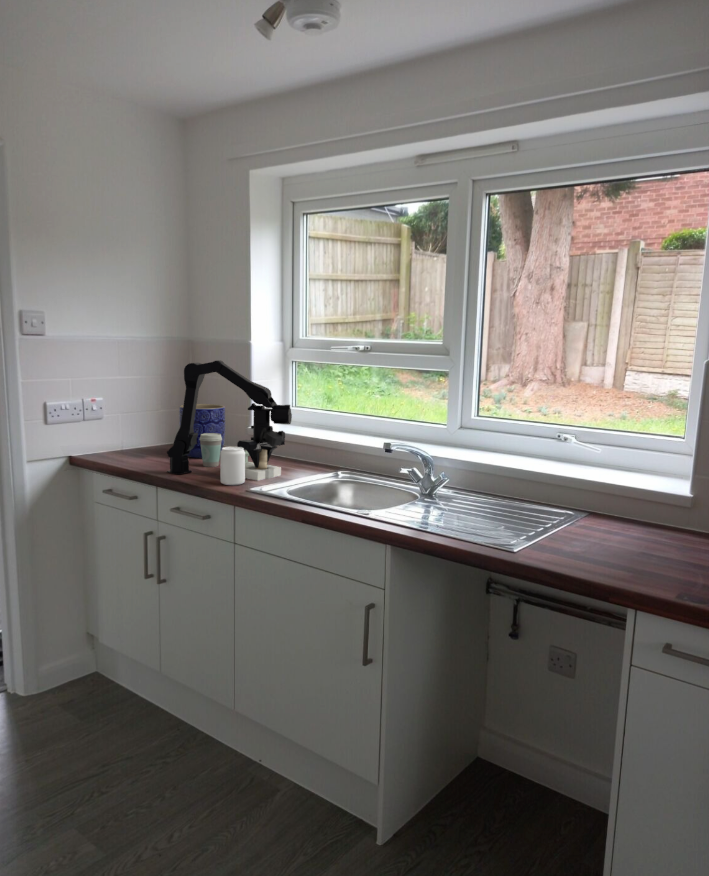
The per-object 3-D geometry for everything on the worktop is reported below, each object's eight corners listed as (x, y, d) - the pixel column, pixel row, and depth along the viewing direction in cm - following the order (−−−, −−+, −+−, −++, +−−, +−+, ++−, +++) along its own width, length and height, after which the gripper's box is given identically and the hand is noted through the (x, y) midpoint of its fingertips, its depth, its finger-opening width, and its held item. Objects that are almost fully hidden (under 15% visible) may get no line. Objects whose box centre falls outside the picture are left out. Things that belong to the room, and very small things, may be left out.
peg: (253, 472, 242) (253, 450, 241) (261, 470, 245) (261, 448, 244) (261, 474, 240) (261, 451, 238) (269, 472, 243) (269, 450, 242)
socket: (225, 474, 245) (225, 466, 244) (248, 469, 254) (248, 461, 254) (259, 480, 235) (259, 472, 235) (282, 475, 245) (282, 467, 244)
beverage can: (239, 486, 225) (239, 450, 223) (216, 485, 227) (216, 449, 225) (248, 481, 233) (248, 447, 231) (226, 480, 235) (226, 445, 233)
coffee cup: (198, 463, 263) (198, 433, 261) (221, 463, 265) (221, 432, 264) (200, 468, 255) (199, 436, 253) (223, 467, 257) (223, 435, 256)
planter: (174, 453, 284) (174, 404, 281) (218, 451, 292) (218, 403, 289) (185, 461, 268) (184, 409, 265) (230, 458, 276) (230, 407, 273)
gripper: (259, 427, 228) (259, 473, 230) (296, 423, 243) (295, 466, 245) (236, 424, 234) (236, 469, 236) (273, 420, 249) (272, 462, 251)
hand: (261, 466), depth 242 cm, fingers closed on peg, 4 cm apart
